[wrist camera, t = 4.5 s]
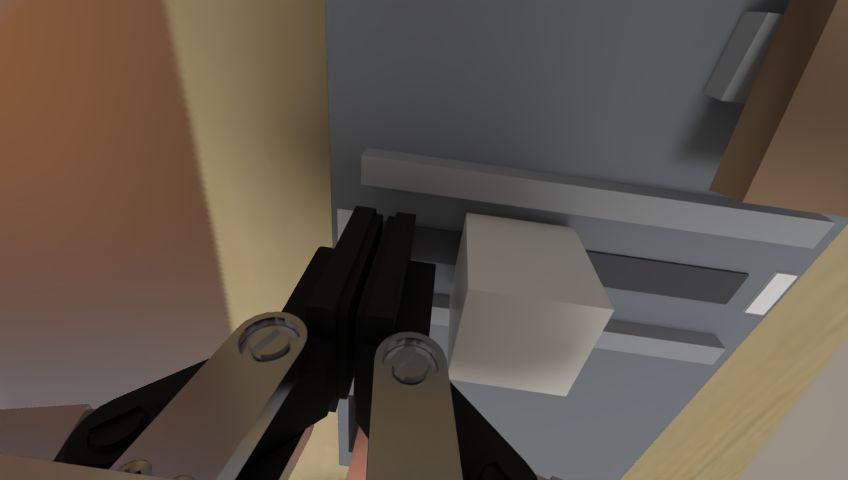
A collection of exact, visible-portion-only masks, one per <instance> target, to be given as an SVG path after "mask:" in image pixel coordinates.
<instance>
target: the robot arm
mask: <svg viewBox="0 0 848 480" xmlns="http://www.w3.org/2000/svg"><path fill="white" fill-rule="evenodd" d="M415 222H416V214H409V213H402V212H397V213H396V216H388V219H387V222H386V225H385V228H384V231H383V234H382V229H383V215H382V214H377V209H376V208H370V207H363V206H356V207H355V209H354V211H353V213H352V215H351V217H350V219H349V221H348V223H347V225H346V227H345V229H344V230H343V232H342V234H341V236H340V238H339V240H338V242H337V244H336V246H335V248H328V247H322V246H321V247H319V248H318V250H317V251H316V253H315V254H314V256H313V258H312V260H311V261H310V263H309V265H308V267H307V268H306V270H305V272H304V274H303V275H302V277H301V279H300V281H299V282H298V284H297V286H296V288H295V289H294V291H293V293H292V295H291V296H290V298H289V300H288V302H287V303H286V305H285V307H284V309H283V310H282V312H267V313H263V314H260V315H256V316H254V317H252V318H250V319H248V320H247V321H245V322H244V323H242V324H241V325H240V326H239V327H238V328H237V329H236V330H235V331H234V332H233V333H232V334H231V335H230V336H229V337H228V339H227V340H226V341H225V342H224V343H223V344H222V345H221V346H220V347H219V349H218V350H217V351H216V352H215V353H214V354H213V355H212V356H211V357H210V358H209V359H207V360H205V361H202V362H200V363H198V364H195V365H193V366H190V367H188V368H186V369H183V370H181V371H179V372H176V373H174V374H172V375H169V376H167V377H165V378H162V379H160V380H158V381H156V382H153V383H151V384H148V385H146V386H144V387H141V388H139V389H137V390H135V391H132V392H130V393H127V394H125V395H123V396H120V397H118V398H116V399H113V400H112V401H110V402H108V403H106V404H104V405H102V406H100V407H99V408H97V409H92V408H91V406H90V405H89V404H79V405H64V406H50V407H49V406H48V407H33V408H17V409H2V410H0V480H288V479H289V477H290V475H291V473H292V471H293V469H294V467H295V465H296V463H297V461H298V459H299V457H300V455H301V453H302V451H303V449H304V448H305V446H306V444H307V442H308V440H309V438H310V436H311V433H312V430H313V427H314V424H315V423H316V422H318V421H320V420H321V419H323V418H324V417H326V416H327V415H328V412H329V411H330V412H336V409H337V406H338V403H339V399H344V400H347V399H348V396H349V393H350V389H351V386H352V382H353V379H354V391H353V401H356V412H355V421H356V422H357V424H358V425H359V426H360V428H361V429H362V431H363V432H364V434H365V435H366V437H367V438H368V451H367V467H366V480H549V479H547V478H544V477H542V476H539V475H537V474H535V473H534V472H533V470H532V469H531V468H530V466H529V465H528V464H527V462H526V461H525V460H524V459H523V458H522V457H521V456H520V455H519V454H518V453H517V452H516V451H515V450H514V448H513V447H512V446H511V445H510V444H509V443H508V442H507V441H506V440H505V439H504V438H503V437H502V436H501V435H500V434H499V433H498V431H497V430H496V429H495V428H494V427H493V426H492V425H491V424H490V423H489V422H488V421H487V420H486V419H485V418H484V417H483V416H482V414H481V413H480V412H479V411H478V410H477V409H476V408H475V407H474V406H473V405H472V404H471V403H470V402H469V401H468V400H467V399H466V397H465V396H464V395H463V394H462V393H461V392H460V391H459V390H458V389H457V388H456V387H455V386H454V385H453V384H452V383H451V382H450V380H449V373H448V365H447V360H446V357H445V353H444V351H443V350H442V348H441V347H440V346H439V344H438V343H437V342H435V341H434V340H433V339H431V338H430V337H429V334H430V324H431V314H432V303H433V293H434V283H435V272H436V264H433V263H426V262H420V261H413V260H411V252H412V244H413V237H414V229H415ZM550 480H562V479H560V478H557V477H555V476H553V475H552V477H551V478H550Z"/></svg>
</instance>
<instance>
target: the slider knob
mask: <svg viewBox="0 0 848 480" xmlns="http://www.w3.org/2000/svg"><path fill="white" fill-rule="evenodd" d="M613 312H614V308H613V306H612V304H611V302H610V300H609V298H608V296H607V294H606V292H605V290H604V287H603V285H602V283H601V281H600V279H599V277H598V275H597V273H596V271H595V269H594V267H593V265H592V263H591V261H590V259H589V257H588V255H587V253H586V251H585V249H584V247H583V245H582V242H581V240H580V238H579V236H578V234H577V232H576V230H575V228H572V227H565V226H558V225H551V224H544V223H537V222H530V221H523V220H516V219H509V218H502V217H495V216H488V215H481V214H474V213H466V218H465V222H464V227H463V232H462V237H461V242H460V247H459V252H458V256H457V261H456V266H455V271H454V276H453V281H452V286H451V291H450V305H449V329H448V354H447V365H448V373H449V379H450V380H456V381H463V382H470V383H477V384H484V385H491V386H497V387H504V388H511V389H518V390H525V391H531V392H538V393H545V394H552V395H559V396H565V397H566V396H567V394H568V392H569V390H570V389H571V387H572V385H573V383H574V381H575V380H576V378H577V376H578V374H579V372H580V371H581V369H582V367H583V365H584V364H585V362H586V360H587V358H588V356H589V355H590V353H591V351H592V349H593V347H594V346H595V344H596V342H597V340H598V338H599V337H600V335H601V333H602V331H603V330H604V328H605V326H606V324H607V322H608V321H609V319H610V317H611V315H612V313H613Z"/></svg>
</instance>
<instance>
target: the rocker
mask: <svg viewBox="0 0 848 480" xmlns="http://www.w3.org/2000/svg"><path fill="white" fill-rule="evenodd" d="M709 190H710V191H712V192H715V193H718V194H721V195H723V196H726V197H729V198H732V199H734V200H737V201H740V202H743V203H750V204H757V205H764V206H771V207H778V208H785V209H792V210H800V211H807V212H814V213H821V214H828V215H835V216H842V217H848V0H790V1H789V4H788V6H787V8H786V11H785V13H784V15H783V18H782V20H781V22H780V25H779V27H778V29H777V32H776V34H775V36H774V39H773V41H772V43H771V46H770V48H769V50H768V53H767V55H766V57H765V60H764V62H763V64H762V67H761V69H760V71H759V74H758V76H757V78H756V81H755V83H754V85H753V88H752V90H751V92H750V95H749V97H748V99H747V102H746V104H745V106H744V109H743V111H742V113H741V116H740V118H739V120H738V123H737V125H736V127H735V130H734V132H733V134H732V137H731V139H730V141H729V144H728V146H727V148H726V151H725V153H724V155H723V158H722V160H721V162H720V165H719V167H718V169H717V172H716V174H715V176H714V179H713V181H712V183H711V186H710V188H709Z"/></svg>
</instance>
